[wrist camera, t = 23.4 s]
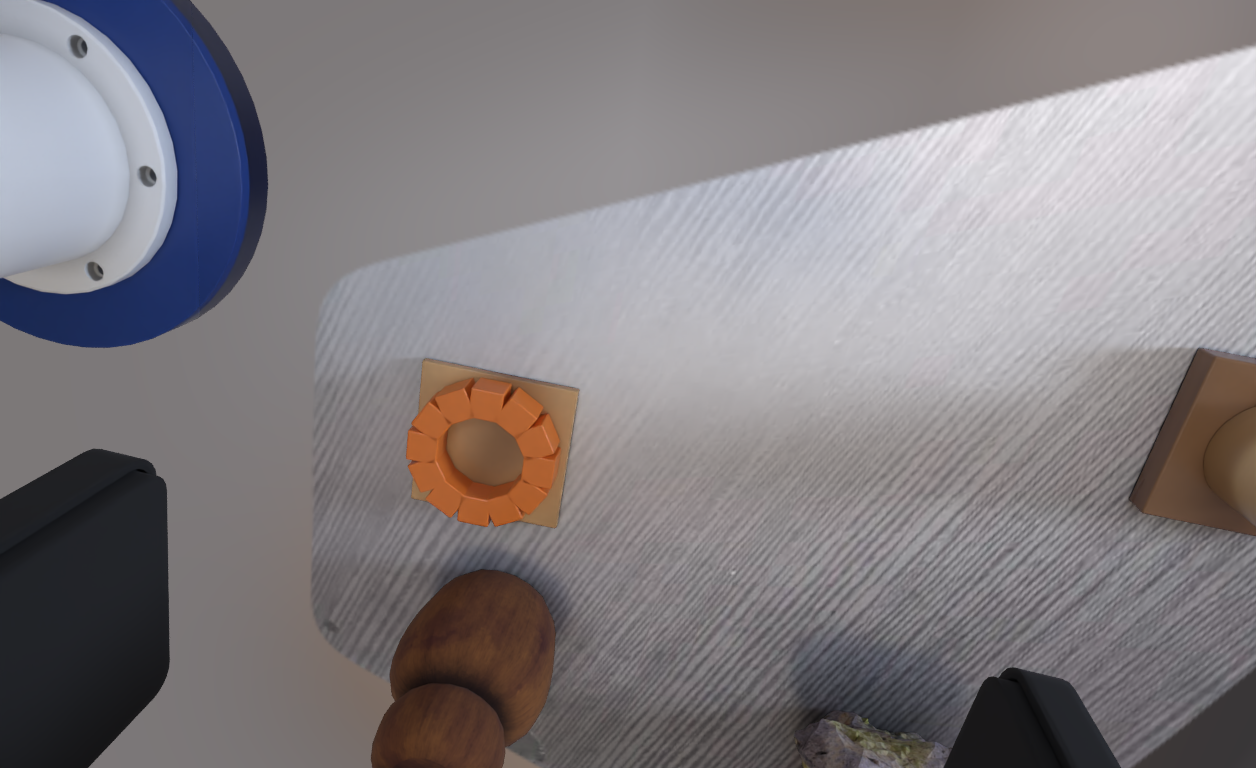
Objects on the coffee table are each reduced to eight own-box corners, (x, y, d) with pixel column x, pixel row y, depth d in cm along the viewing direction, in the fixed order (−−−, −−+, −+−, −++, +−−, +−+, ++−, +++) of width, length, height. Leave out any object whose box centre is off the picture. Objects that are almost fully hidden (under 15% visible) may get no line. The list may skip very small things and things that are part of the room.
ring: (423, 365, 35) (411, 375, 33) (569, 394, 34) (563, 406, 33) (412, 495, 37) (401, 509, 36) (549, 523, 37) (543, 539, 35)
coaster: (413, 494, 38) (411, 498, 37) (425, 357, 35) (422, 360, 35) (557, 524, 37) (555, 528, 37) (579, 388, 35) (577, 392, 34)
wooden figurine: (586, 587, 38) (509, 872, 24) (543, 672, 40) (449, 979, 26) (458, 530, 38) (305, 786, 24) (420, 619, 40) (260, 901, 26)
